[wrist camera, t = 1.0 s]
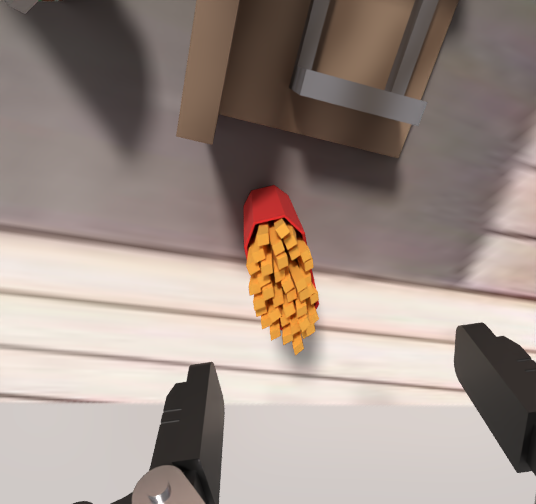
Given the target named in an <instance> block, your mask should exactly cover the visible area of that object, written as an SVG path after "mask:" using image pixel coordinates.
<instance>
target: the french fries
mask: <svg viewBox="0 0 536 504" xmlns="http://www.w3.org/2000/svg"><path fill="white" fill-rule="evenodd" d="M244 249H245V254H246V258H247V264H246V266H247V269H248V272H249V274H250V275H251V278H250V283H249V293H250V295H253V294H254V300H253V304H254V311H256V317H258V316H260V315H261V325H262V329H264V328H266V327H268V326H270V335H271V341H272V340H274V339H275V338H277V337H279V336H281V333H280V330H283V334H282V338H283V345H285V344H287V343H289V342H291V341H292V343H293V349H294V352H295V355H297V354H298V353H299V352H301V351H302V350H303V349H304V347H303V342H302V337H303V339H304V338H305V337H308V336H309V335H311V334H312V333H314V332H315V326H314V323H315V322H316V321H317V320H318V319H319V317H318V315H317V312H316V309H317V307H318V305H319V301H318V300H319V298H318V292H317V290H316V287H315V282H314V277H313V273H312V268H313V259H312V257H311V254H310V250H309V248H308V246H307V242H306V237H305V232H304V230H303V228H302V225H301V223H300V221H299V219H298V216H297V214H296V212H295V210H294V207H293V205H292V203H291V200H290V198H289V196H288V195H287V194H286V193H284V192H283V191H282V190H280V189H279V188H278V187H276V186H275V185H272V186H268V187H264V188H260V189H255V190H251V192H250V194H249V196H248V198H247V200H246V202H245V204H244ZM300 331H301V332H300ZM301 334H302V337H301Z"/></svg>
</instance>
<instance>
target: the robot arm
mask: <svg viewBox="0 0 536 504" xmlns="http://www.w3.org/2000/svg"><path fill="white" fill-rule="evenodd" d="M454 367H455V372H456V375H457V378H458V380H459V382H460V383H461V385H462V387H463V388H464V390H465V391H466V393H467V394H468V396H469V398H470V399H471V401H472V402H473V404H474V406H475V407H476V409H477V410H478V412H479V413H480V415H481V416H482V418H483V420H484V421H485V423H486V424H487V426H488V428H489V429H490V431H491V432H492V434H493V436H494V437H495V439H496V440H497V442H498V443H499V445H500V447H501V448H502V450H503V451H504V453H505V454H506V456H507V458H508V459H509V461H510V462H511V464H512V466H513V467H514V469H515V470H516V472H517V473H521V472H529V471H533V473H534V474H535V475H536V363H535V361H534V360H531V357H530V356H529V355H528V354H527V353H526V352H525V350H524V349H523V348H522V347H521V346H520V345H518V344H517V343H515V342H513V341H512V340H510V339H508V338H506V337H505V336H499V337H496V336H495V335H494V334H493V333H492V331H491V330H490V329H489V328H488V327H487V326H486V325H485V324H484V323H475V324H468V325H461V326H458V327H457V329H456V339H455V354H454ZM223 429H224V400H223V395H222V391H221V388H220V384H219V380H218V377H217V373H216V369H215V366H214V363H213V362H208V363H201V364H194V365H190V367H189V371H188V376H187V382H182V383H176V384H175V385H174V387H173V388H172V390H171V391H170V392H169V394H168V395H167V397H166V402H165V406H164V413H163V415H162V419H161V425H160V427H159V432H158V436H157V440H156V444H155V449H154V453H153V457H152V462H151V466H150V469H149V472H147V473H146V474H145V475H144V476H143V477H142V478H141V479H140V480H139V481H138V483H137V484H136V486H135V488H134V491H133V492H132V493H130V494H129V495H127V496H126V497H124V498H122V499H120V500H117V501H116V502H113V503H111V504H219V492H220V491H219V490H220V477H221V461H222V445H223ZM73 504H92V503H90V502H87V501H82V502H76V503H73ZM534 504H536V496H535V503H534Z"/></svg>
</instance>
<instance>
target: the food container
mask: <svg viewBox="0 0 536 504" xmlns="http://www.w3.org/2000/svg"><path fill="white" fill-rule="evenodd" d="M2 1H5V3H6V4H7V5H8V6H9V7H11V8H14V9H16V10H18V11H20V12H22V13H24V14H26V13H27V12H28V11H29V10H30V9H31V8H32V7H33V6H34V5H35V4H36V3H37V2H38V1H62V0H2Z"/></svg>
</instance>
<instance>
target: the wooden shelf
mask: <svg viewBox="0 0 536 504" xmlns="http://www.w3.org/2000/svg"><path fill="white" fill-rule="evenodd" d="M458 1H459V0H197V1H196V8H195V15H194V21H193V28H192V35H191V41H190V48H189V55H188V61H187V68H186V74H185V81H184V88H183V94H182V101H181V108H180V114H179V121H178V128H177V134H176V136H177V137H181V138H186V139H190V140H194V141H198V142H203V143H207V144H211V145H212V144H213V139H214V134H215V130H216V125H217V120H218V116H219V114H220V115H224V116H228V117H232V118H236V119H240V120H244V121H248V122H252V123H256V124H260V125H265V126H269V127H273V128H277V129H281V130H285V131H289V132H293V133H297V134H301V135H305V136H309V137H313V138H318V139H322V140H326V141H330V142H334V143H338V144H342V145H346V146H350V147H354V148H358V149H362V150H366V151H371V152H375V153H379V154H383V155H387V156H391V157H395V158H399V156H400V153H401V150H402V148H403V145H404V143H405V140H406V137H407V135H408V132H409V129H410V127H411V124H412V125H416V126H418V125H419V123H420V120H421V118H422V115H423V113H424V110H425V107H426V105H427V102H425V101H421V98H422V95H423V93H424V90H425V87H426V85H427V82H428V80H429V77H430V74H431V72H432V69H433V67H434V64H435V61H436V59H437V56H438V53H439V51H440V48H441V46H442V43H443V40H444V38H445V35H446V32H447V30H448V27H449V25H450V22H451V19H452V17H453V14H454V11H455V9H456V6H457V4H458Z"/></svg>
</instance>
